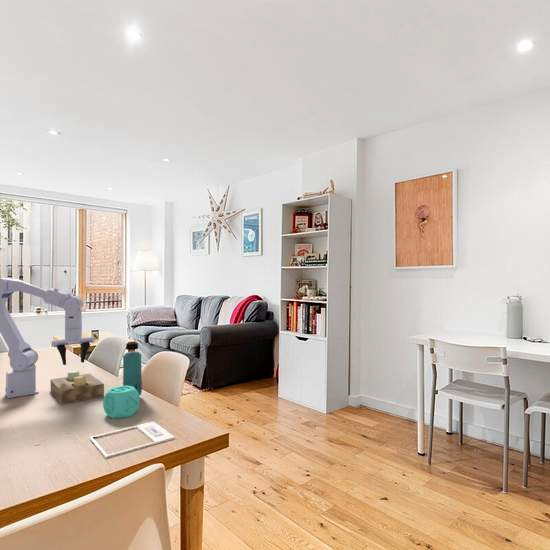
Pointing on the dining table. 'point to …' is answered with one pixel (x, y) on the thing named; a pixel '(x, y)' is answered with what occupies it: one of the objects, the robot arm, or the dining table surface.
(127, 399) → the decorative dice
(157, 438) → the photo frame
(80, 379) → the mustard peg
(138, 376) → the beverage bottle
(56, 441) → the dining table surface
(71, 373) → the sage peg
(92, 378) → the peg block
